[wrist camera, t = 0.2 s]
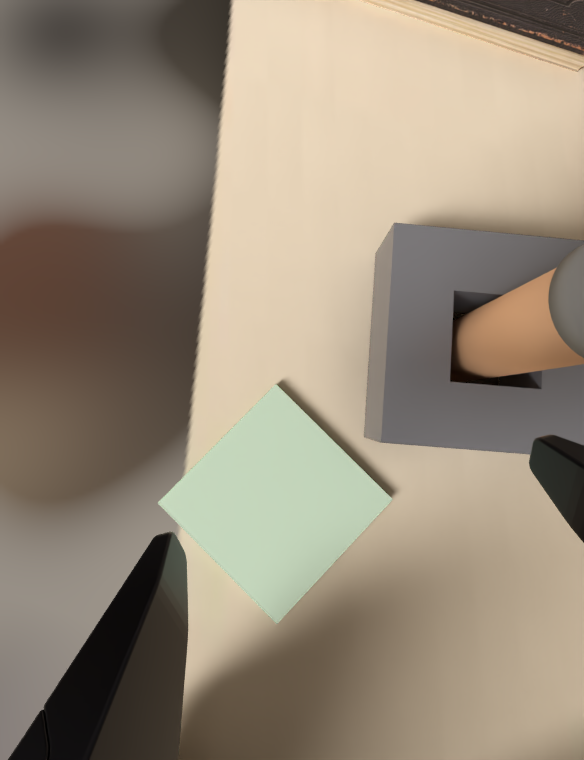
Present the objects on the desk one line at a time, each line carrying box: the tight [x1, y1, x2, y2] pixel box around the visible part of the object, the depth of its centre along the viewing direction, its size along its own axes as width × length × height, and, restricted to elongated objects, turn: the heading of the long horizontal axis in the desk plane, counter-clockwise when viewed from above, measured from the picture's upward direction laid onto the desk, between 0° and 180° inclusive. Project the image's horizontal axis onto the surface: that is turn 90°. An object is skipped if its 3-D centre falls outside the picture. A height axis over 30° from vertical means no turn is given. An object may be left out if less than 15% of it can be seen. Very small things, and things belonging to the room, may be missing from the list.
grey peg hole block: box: [364, 223, 584, 454], centre depth 22 cm, size 12×12×4 cm
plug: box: [450, 244, 584, 382], centre depth 18 cm, size 5×5×12 cm
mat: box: [158, 384, 393, 624], centre depth 23 cm, size 10×10×1 cm
